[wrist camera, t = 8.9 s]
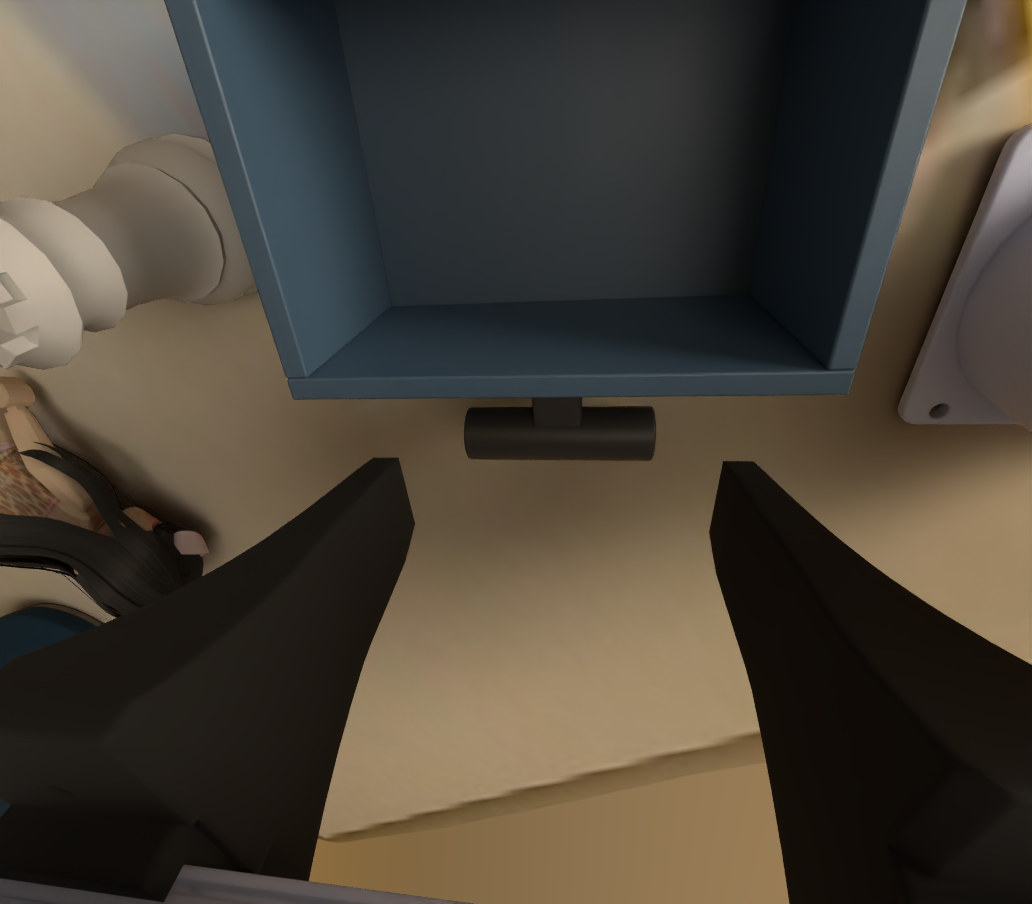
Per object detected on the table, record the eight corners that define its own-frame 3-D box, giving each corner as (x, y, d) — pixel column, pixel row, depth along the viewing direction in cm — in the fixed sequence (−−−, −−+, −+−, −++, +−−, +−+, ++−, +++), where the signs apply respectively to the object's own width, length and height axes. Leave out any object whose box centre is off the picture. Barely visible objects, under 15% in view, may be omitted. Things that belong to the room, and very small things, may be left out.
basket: (828, -92, 10) (1066, -319, 5) (739, 398, 16) (812, 519, 11) (318, -26, 12) (112, -152, 7) (403, 400, 17) (327, 508, 12)
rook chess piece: (108, 177, 15) (-258, 237, 9) (214, 99, 14) (-129, 101, 7) (214, 313, 17) (-13, 444, 11) (316, 258, 16) (125, 372, 9)
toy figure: (-127, 392, 21) (187, 594, 26) (-363, 465, 16) (89, 706, 20) (-77, 270, 19) (262, 519, 23) (-339, 306, 13) (172, 623, 18)
